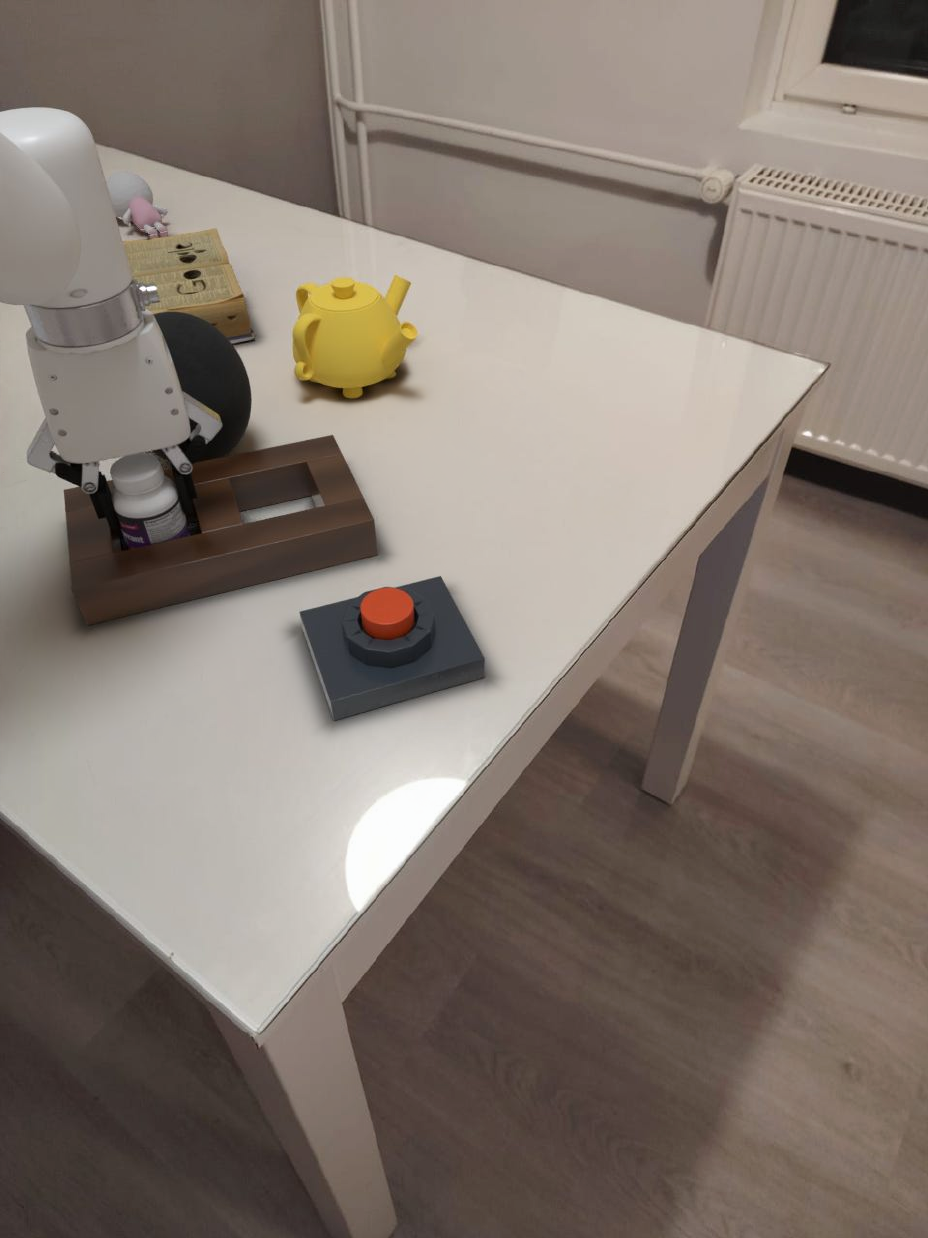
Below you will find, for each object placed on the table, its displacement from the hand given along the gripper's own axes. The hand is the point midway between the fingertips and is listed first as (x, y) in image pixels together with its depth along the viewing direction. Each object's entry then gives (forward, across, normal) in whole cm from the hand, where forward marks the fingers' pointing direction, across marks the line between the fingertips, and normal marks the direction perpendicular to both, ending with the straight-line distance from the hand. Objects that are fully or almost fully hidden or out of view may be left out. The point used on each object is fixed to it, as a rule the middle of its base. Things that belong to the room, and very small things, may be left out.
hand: (150, 511), depth 74 cm
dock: (+5, -5, 0) cm, 7 cm away
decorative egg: (+5, -5, -14) cm, 16 cm away
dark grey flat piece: (+5, -15, +19) cm, 25 cm away
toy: (+5, -6, -80) cm, 81 cm away
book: (+5, -7, -49) cm, 50 cm away
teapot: (+5, -25, -24) cm, 35 cm away
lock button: (+1, -15, +19) cm, 24 cm away
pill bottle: (+5, 0, 0) cm, 5 cm away
